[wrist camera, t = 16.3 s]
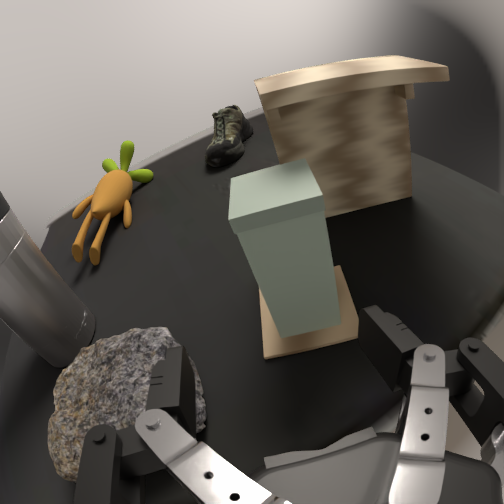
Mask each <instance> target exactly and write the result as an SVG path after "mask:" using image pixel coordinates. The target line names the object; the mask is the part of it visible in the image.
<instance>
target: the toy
mask: <svg viewBox="0 0 504 504" xmlns="http://www.w3.org/2000/svg"><path fill="white" fill-rule="evenodd" d="M133 153H134V144H133V142H131V141H125V142H123V143H122V145H121V150H120V164H121V170H119V168H118V167H117V165H116V163H115V162H114V161H113V160H112V159H105V160H104V161H103V163H102V167H103V169H104V170H105V171H106V172H107V174H106V175H105V176H104V177H103V178H102V179H101V180H100V182H99V183H98V185H97V187H96V189H95V191H94V194H93V195H91V196H89V197H87V198H86V199H84V200H83V201H82V202H81V203H80V204H79V205H78V206H77V207H76V209H75V210H74V212H73V215H72V217H73V219H77V218H79V217H80V216H81V215H82V213H83V212H84V211H85V209H86V208H87V207H88V206H89V205H90V204H91V210H90V211H89V213H88V214H87V216H86V218H85V220H84V222H83V224H82V226H81V229H80V231H79V233H78V235H77V238H76V240H75V242H74V244H73V246H72V253H73V257H74V259H75V260H76V261H77V262H81V261H82V257H83V244H84V240H85V237H86V234H87V231H88V228H89V226H90V224H91V222H92V219H93V217H94V218H96V219H98V220H102V223H101V226H100V228H99V231H98V233H97V235H96V237H95V239H94V242H93V244H92V246H91V248H90V251H89V256H90V260H91V262H92V264H93V265H97V264H99V262H100V249H101V244H102V241H103V238H104V235H105V233H106V230H107V226H108V224H109V221H110V219H111V218H113V217H115V216H116V215H118V214H119V213H120V212H121V211H122V210H123V209H124V219H123V222H124V226H125V228H129V227H130V225H131V221H132V212H131V206H130V203H129V199H130V197H131V194H132V188H133V185H132V180H134V181H137V182H141V183H147V182H150V181H151V180H152V179H153V173H152V171H150V170H147V169H140V170H134V171H129V172H127V171H128V168H129V165H130V162H131V159H132V157H133Z"/></svg>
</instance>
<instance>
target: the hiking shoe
mask: <svg viewBox="0 0 504 504" xmlns="http://www.w3.org/2000/svg"><path fill="white" fill-rule="evenodd" d="M212 116H213V118H214V136H213V139H212V140H211V143H210V145H209V146H208V148H207V150H206V153H205V162H206V163H207V164H209V165H211V166H213V167H221V166H224V165H226V164H229V163H232V162H234V161H236V160H237V159H238V158H239V157H240V156H241V155H242V154H243V153H244V151H245V150H244V145H243V144H242V142H243V141H244V140H246V139H247V138H249V137H250V136H251V134H252V132H253V127H252V126H251V125H250V124H249V121H248V120H247V119H246V118H245V117H244V115H243V113H242V111H241V110H240V108H239V107H238V106H236V105H233V106H229V107H226V108H225V109H221V110H219V111H218V113H213V114H212Z"/></svg>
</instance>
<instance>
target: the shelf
mask: <svg viewBox="0 0 504 504" xmlns="http://www.w3.org/2000/svg"><path fill="white" fill-rule="evenodd" d="M435 81H449V72H448V67H447V66H443V65H440V64H436V63H431V62H427V61H422V60H417V59H412V58H408V57H402V56H396V55H390V56H379V57H370V58H361V59H353V60H346V61H339V62H333V63H327V64H322V65H316V66H311V67H307V68H301V69H297V70H292V71H288V72H284V73H280V74H276V75H272V76H268V77H264V78H260V79H257V80H254V82H255V85H256V88H257V91H258V94H259V97H260V100H261V103H262V106H263V110H264V113H265V116H266V119H267V122H268V126H269V129H270V132H271V135H272V139H273V142H274V145H275V149H276V152H277V155H278V159H279V162H280V165H281V164H284V163H288V162H292V161H296V160H300V159H304V158H305V159H306V161H307V163H308V165H309V167H310V169H311V171H312V173H313V175H314V178H315V180H316V182H317V184H318V186H319V188H320V190H321V192H322V194H323V199H324V204H325V209H326V210H325V211H324V215H325V218H327V217H331V216H335V215H339V214H343V213H347V212H351V211H355V210H359V209H363V208H367V207H371V206H375V205H379V204H383V203H387V202H391V201H395V200H399V199H403V198H407V197H411V196H412V177H411V151H410V137H409V124H408V115H407V105H406V99H414V98H415V97H414V89H413V83H421V82H435Z"/></svg>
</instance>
